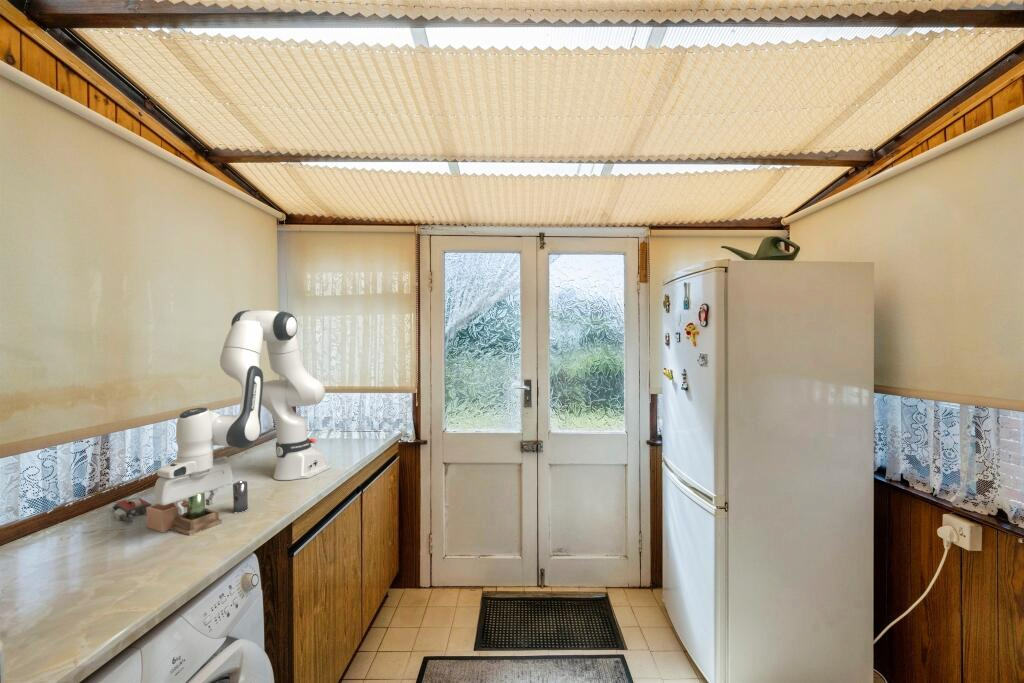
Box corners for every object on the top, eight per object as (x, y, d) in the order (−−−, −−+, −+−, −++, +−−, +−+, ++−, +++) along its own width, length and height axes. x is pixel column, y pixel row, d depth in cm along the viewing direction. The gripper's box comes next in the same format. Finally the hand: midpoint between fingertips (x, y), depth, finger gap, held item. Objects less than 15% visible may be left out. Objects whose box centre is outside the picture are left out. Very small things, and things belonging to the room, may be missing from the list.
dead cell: (242, 507, 147) (242, 478, 147) (250, 509, 145) (249, 480, 145) (230, 511, 143) (230, 482, 143) (238, 513, 142) (237, 484, 141)
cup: (177, 516, 140) (176, 497, 140) (192, 521, 136) (192, 501, 136) (147, 527, 133) (146, 507, 132) (162, 532, 129) (161, 511, 129)
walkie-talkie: (104, 513, 144) (126, 528, 133) (104, 500, 144) (126, 513, 133) (138, 504, 151) (162, 517, 140) (138, 491, 151) (161, 503, 140)
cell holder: (204, 517, 139) (203, 506, 139) (221, 522, 135) (221, 511, 135) (171, 529, 131) (171, 517, 131) (189, 535, 127) (189, 523, 127)
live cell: (200, 519, 135) (199, 488, 135) (208, 521, 134) (207, 489, 133) (186, 524, 132) (184, 492, 132) (194, 526, 130) (192, 494, 130)
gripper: (224, 453, 143) (225, 495, 143) (150, 471, 125) (151, 520, 125) (236, 455, 140) (237, 498, 141) (162, 474, 122) (164, 524, 122)
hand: (196, 509), depth 133 cm, fingers open, 6 cm apart
